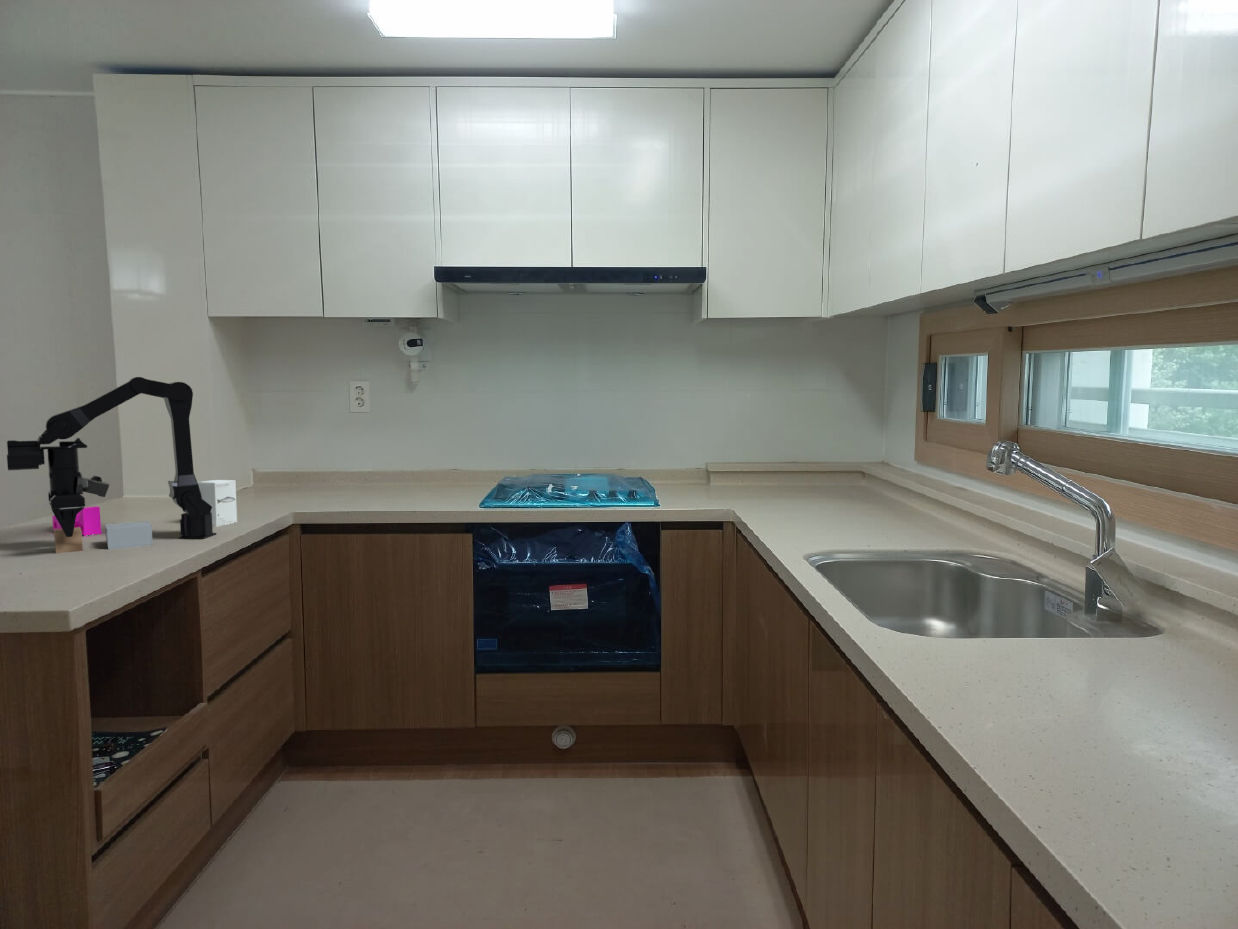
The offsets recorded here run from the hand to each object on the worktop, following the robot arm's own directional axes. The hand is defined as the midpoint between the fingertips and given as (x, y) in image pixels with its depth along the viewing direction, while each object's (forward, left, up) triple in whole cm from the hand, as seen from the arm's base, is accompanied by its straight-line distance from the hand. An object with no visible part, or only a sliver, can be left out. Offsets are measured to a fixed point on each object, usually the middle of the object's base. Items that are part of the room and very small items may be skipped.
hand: (68, 534), depth 178 cm
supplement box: (-15, -35, -4) cm, 38 cm away
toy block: (+16, -21, -4) cm, 27 cm away
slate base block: (-9, -8, -4) cm, 13 cm away
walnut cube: (0, 0, -4) cm, 4 cm away
